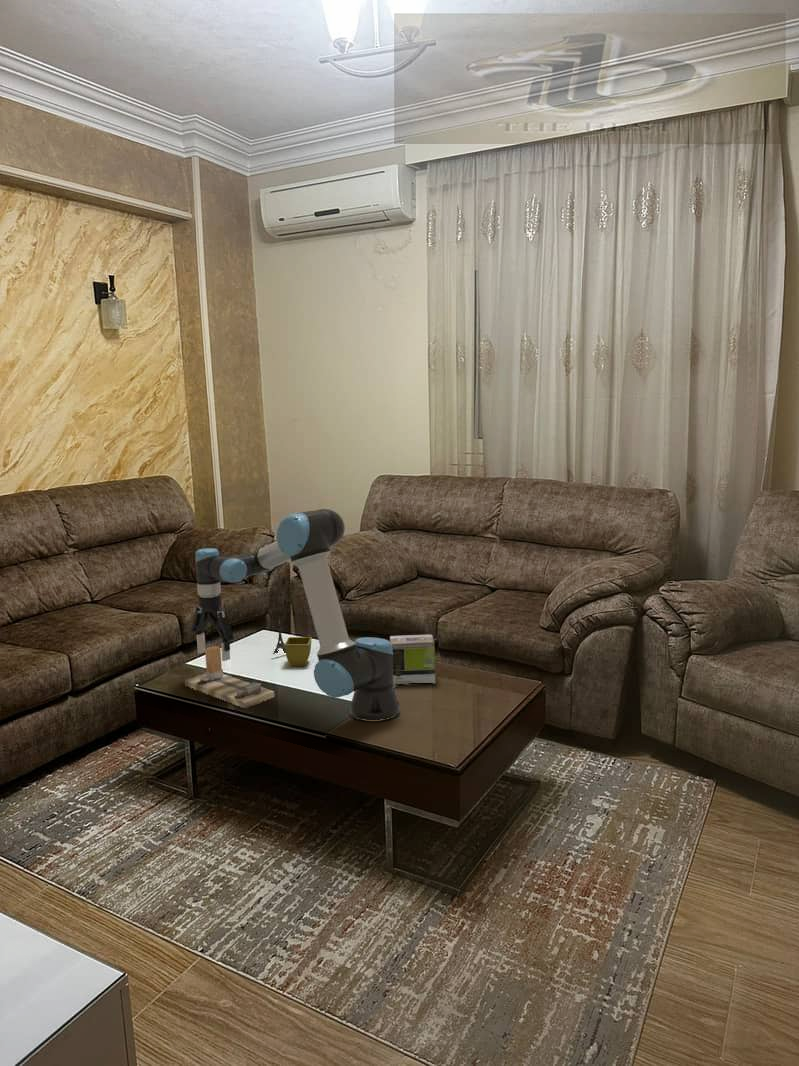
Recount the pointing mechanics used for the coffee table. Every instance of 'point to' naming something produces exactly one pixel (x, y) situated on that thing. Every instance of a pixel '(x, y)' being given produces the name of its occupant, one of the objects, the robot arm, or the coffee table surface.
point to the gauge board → (232, 690)
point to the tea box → (413, 659)
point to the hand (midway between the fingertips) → (213, 656)
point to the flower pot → (298, 650)
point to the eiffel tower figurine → (279, 645)
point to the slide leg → (212, 664)
